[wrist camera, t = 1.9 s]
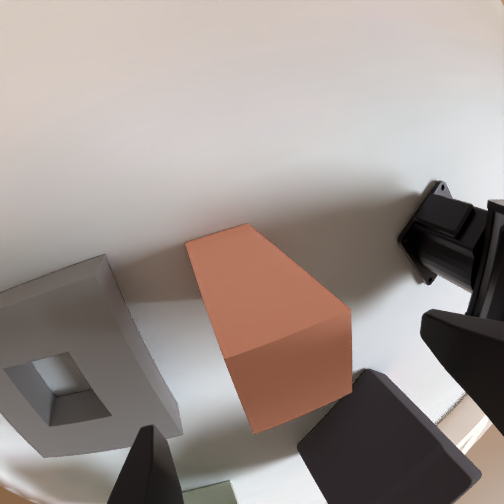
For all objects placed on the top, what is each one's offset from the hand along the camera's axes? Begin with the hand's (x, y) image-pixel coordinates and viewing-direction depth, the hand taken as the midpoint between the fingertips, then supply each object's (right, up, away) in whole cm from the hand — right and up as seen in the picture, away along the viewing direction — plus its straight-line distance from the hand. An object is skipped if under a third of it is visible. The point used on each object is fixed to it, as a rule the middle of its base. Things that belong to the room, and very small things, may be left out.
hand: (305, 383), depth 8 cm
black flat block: (+7, -12, +18) cm, 22 cm away
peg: (-3, +3, +9) cm, 10 cm away
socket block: (-14, -4, +8) cm, 16 cm away
